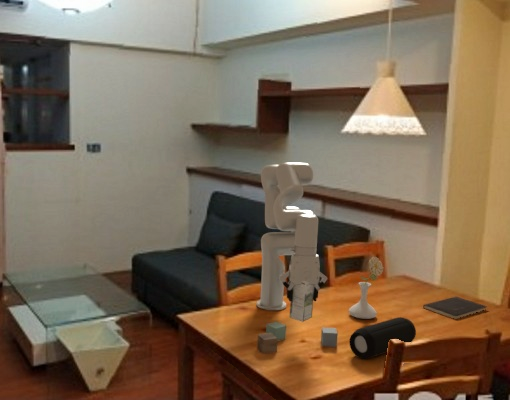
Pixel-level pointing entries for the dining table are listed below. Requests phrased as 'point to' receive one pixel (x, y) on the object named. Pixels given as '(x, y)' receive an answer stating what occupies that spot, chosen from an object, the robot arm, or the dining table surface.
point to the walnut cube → (267, 343)
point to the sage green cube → (277, 330)
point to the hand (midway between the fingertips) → (302, 299)
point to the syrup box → (302, 301)
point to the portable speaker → (381, 336)
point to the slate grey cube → (329, 337)
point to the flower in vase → (362, 306)
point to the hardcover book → (454, 307)
